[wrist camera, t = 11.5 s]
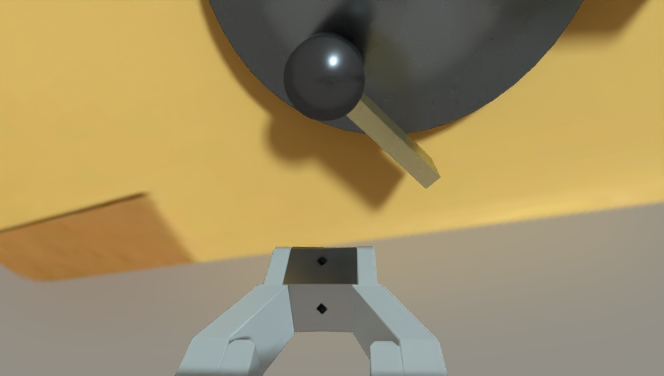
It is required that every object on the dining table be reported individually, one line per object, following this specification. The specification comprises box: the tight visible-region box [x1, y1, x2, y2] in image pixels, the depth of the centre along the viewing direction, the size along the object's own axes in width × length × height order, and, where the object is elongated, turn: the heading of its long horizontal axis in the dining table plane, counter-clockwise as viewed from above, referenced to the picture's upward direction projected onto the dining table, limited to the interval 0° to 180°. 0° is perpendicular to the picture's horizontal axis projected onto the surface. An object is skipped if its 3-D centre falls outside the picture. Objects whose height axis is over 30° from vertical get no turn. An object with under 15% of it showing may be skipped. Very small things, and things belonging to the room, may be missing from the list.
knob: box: [283, 31, 440, 188], centre depth 22 cm, size 12×5×3 cm, turn 48°
